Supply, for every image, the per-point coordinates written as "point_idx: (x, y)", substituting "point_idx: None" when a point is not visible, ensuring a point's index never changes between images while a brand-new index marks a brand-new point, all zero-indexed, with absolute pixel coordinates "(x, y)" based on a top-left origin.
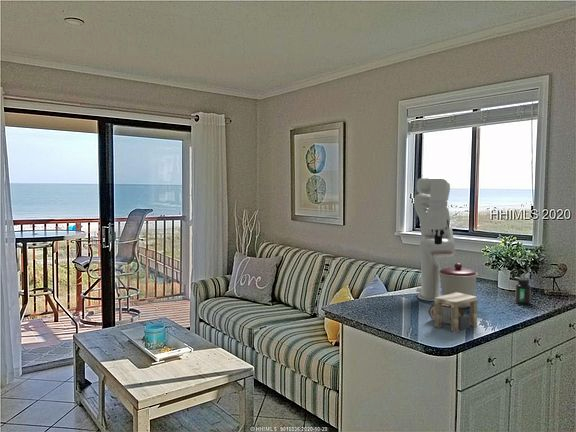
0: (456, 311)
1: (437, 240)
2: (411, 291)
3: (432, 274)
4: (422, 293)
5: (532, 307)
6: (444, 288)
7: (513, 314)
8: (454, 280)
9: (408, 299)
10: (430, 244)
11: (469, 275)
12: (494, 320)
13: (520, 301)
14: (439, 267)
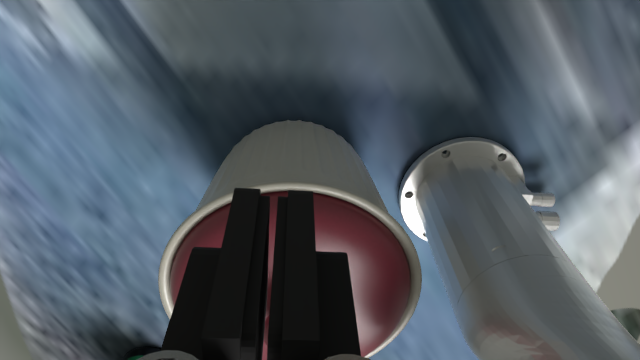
0: None
1: (225, 241)
2: (593, 230)
3: (475, 251)
4: (496, 168)
5: (90, 339)
6: (330, 153)
7: (52, 217)
8: (246, 180)
9: (544, 95)
10: None
11: (173, 263)
12: (17, 74)
13: (139, 355)
14: (461, 326)
